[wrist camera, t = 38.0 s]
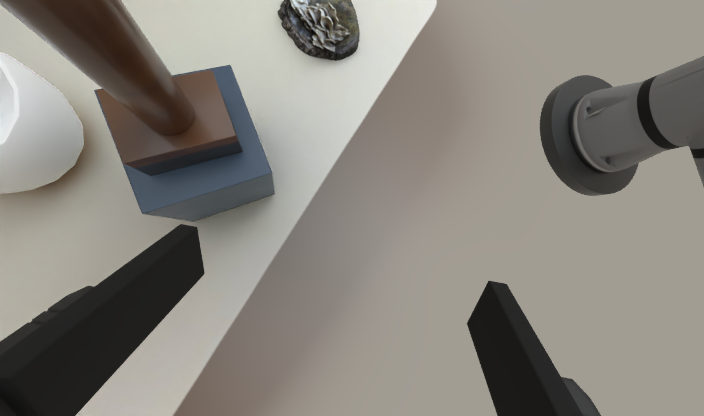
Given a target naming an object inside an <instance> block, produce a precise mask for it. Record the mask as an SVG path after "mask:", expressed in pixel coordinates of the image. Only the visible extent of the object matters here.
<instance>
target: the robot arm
mask: <svg viewBox="0 0 704 416" xmlns="http://www.w3.org/2000/svg"><path fill="white" fill-rule="evenodd" d="M569 135H570V139H571V142H572V145H573V147H574V150H575V152H576V153H577V155H578V156H579V158H580V159H581V160H582V162H583V163H584V164H585V165H586V166H588V167H589V168H590V169H592V170H594V171H596V172H599V173H611V172H616V171H620V170H623V169H626V168H628V167H630V166H633V165H635V164H637V163H639V162H641V161H643V160H646V159H648V158H650V157H652V156H654V155H656V154H658V153H661V152H662V151H666V150H670V149H674V148H679V147H683V146H689V147H690V150H691V152H692V155H693V158H694V161H695V163H696V166H697V169H698V172H699V175H700V177H701V181H702V183H703V186H704V56H703V57H700V58H698V59H696V60H693V61H691V62H688V63H686V64H683V65H681V66H679V67H676V68H674V69H671V70H669V71H667V72H665V73H662V74H659V75H657V76H655V77H652V78H650V79H648V80H645V81H643V82H639V83H633V84H628V85H622V86H617V87H612V88H606V89H601V90H597V91H594V92H591V93H589V94H587V95H584V96H582V97H581V98H579V99H578V100H577V101H576V102H575V103H574V105H573V107H572V109H571V112H570V115H569ZM204 274H205V273H204V267H203V261H202V255H201V249H200V242H199V236H198V230H197V227H194V226H188V225H183V224H180V225H179V226H177V227H176V228H175V229H173V230H172V231H171V232H169V233H168V234H166V235H165V236H164V237H162V238H161V239H160V240H158V241H157V242H156V243H154V244H153V245H151V246H150V247H149V248H147V249H146V250H145V251H143V252H142V253H140V254H139V255H138V256H136V257H135V258H134V259H132V260H131V261H129V262H128V263H127V264H125V265H124V266H123V267H121V268H120V269H118V270H117V271H116V272H114V273H113V274H112V275H110V276H109V277H107V278H106V279H105V280H103V281H102V282H101V283H99V284H98V285H96V286H95V287H92V286H87V287H85V288H82V289H80V290H78V291H76V292H74V293H72V294H69V295H67V296H66V297H64V298H63V299H61V300H60V301H59V302H57V303H56V304H54V305H53V306H51V307H50V308H48V311H44V312H43V313H41V314H40V315H38V316H37V317H35V318H34V319H33V320H32V322H30V323H27V324H25V325H24V326H22V327H21V328H20V329H18V330H17V331H15V332H14V333H12V334H11V335H9V336H8V337H7V338H5V339H4V340H2V341H1V342H0V416H75V415H76V414H77V413H78V412H79V411H80V410H81V409H82V408H83V407H84V405H85V404H86V403H87V402H88V401H89V400H90V399H91V398H92V397H93V396H94V394H95V393H96V392H97V391H98V390H99V389H100V388H101V387H102V386H103V385H104V383H105V382H106V381H107V380H108V379H109V378H110V377H111V376H112V375H113V374H114V372H115V371H116V370H117V369H118V368H119V367H120V366H121V365H122V364H123V363H124V362H125V360H126V359H127V358H128V357H129V356H130V355H131V354H132V353H133V352H134V351H135V349H136V348H137V347H138V346H139V345H140V344H141V343H142V342H143V341H144V340H145V338H146V337H147V336H148V335H149V334H150V333H151V332H152V331H153V330H154V329H155V327H156V326H157V325H158V324H159V323H160V322H161V321H162V320H163V319H164V318H165V316H166V315H167V314H168V313H169V312H170V311H171V310H172V309H173V308H174V307H175V305H176V304H177V303H178V302H179V301H180V300H181V299H182V298H183V297H184V296H185V294H186V293H187V292H188V291H189V290H190V289H191V288H192V287H193V286H194V285H195V284H196V282H197V281H198V280H199V279H200V278H201V277H202V276H203V275H204ZM467 325H468V328H469V331H470V334H471V337H472V340H473V343H474V346H475V349H476V352H477V355H478V358H479V361H480V364H481V367H482V370H483V373H484V376H485V379H486V382H487V385H488V388H489V391H490V394H491V397H492V400H493V403H494V406H495V409H496V412H497V415H498V416H601V415H600V413H599V412H598V410H597V408H596V407H595V405H594V404H593V402H592V401H591V399H590V398H589V397H588V395H587V394H586V393H585V392H584V391H583V390H582V389H581V388H580V387H579V386H578V385H577V384H576V383H575V382H574V380H572V379H568V378H563V377H561V376H560V375H559V373H558V371H557V370H556V368H555V366H554V364H553V363H552V361H551V359H550V358H549V356H548V354H547V353H546V351H545V349H544V347H543V346H542V344H541V342H540V340H539V339H538V337H537V335H536V334H535V332H534V330H533V329H532V327H531V325H530V324H529V322H528V320H527V318H526V317H525V315H524V313H523V312H522V310H521V308H520V306H519V305H518V303H517V301H516V299H515V298H514V296H513V294H512V293H511V291H510V289H509V287H508V286H507V284H504V283H498V282H493V281H488V283H487V285H486V287H485V289H484V291H483V293H482V295H481V297H480V299H479V301H478V303H477V305H476V307H475V309H474V311H473V313H472V315H471V317H470V319H469V320H468V322H467Z"/></svg>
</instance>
